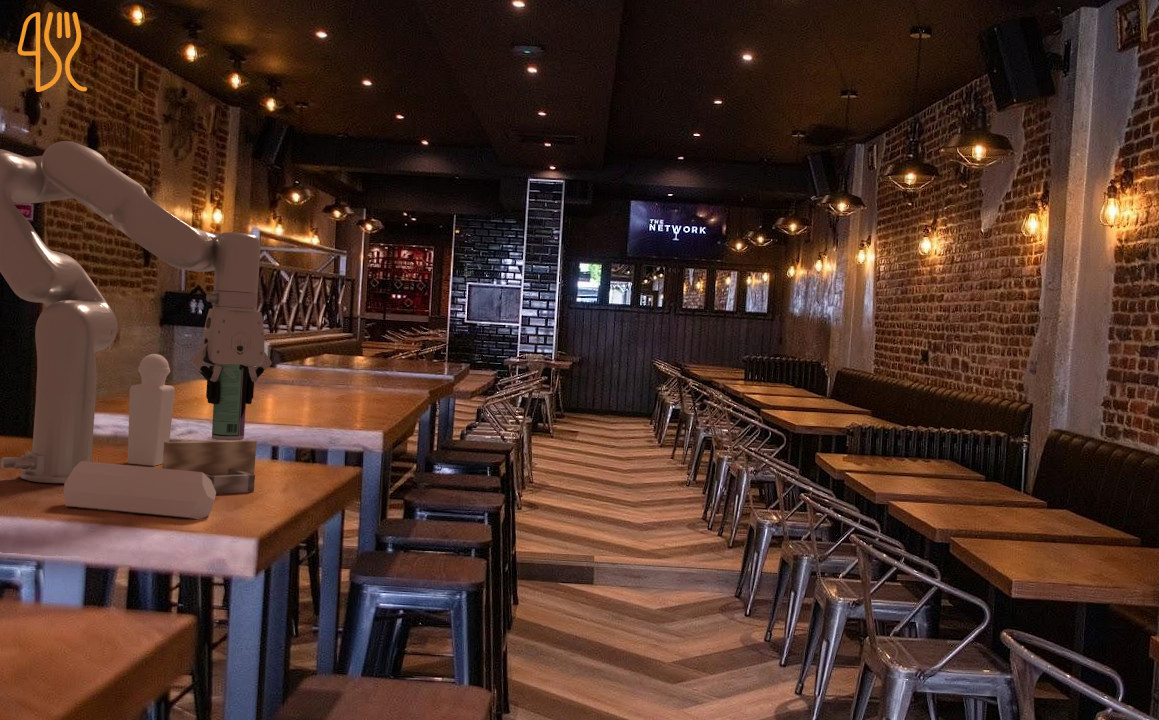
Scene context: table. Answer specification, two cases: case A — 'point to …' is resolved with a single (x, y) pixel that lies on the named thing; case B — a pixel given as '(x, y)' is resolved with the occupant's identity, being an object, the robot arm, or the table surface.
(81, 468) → the chamfered beige bar
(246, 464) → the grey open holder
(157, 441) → the beige square bottle
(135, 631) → the table surface
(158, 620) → the table surface
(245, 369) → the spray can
